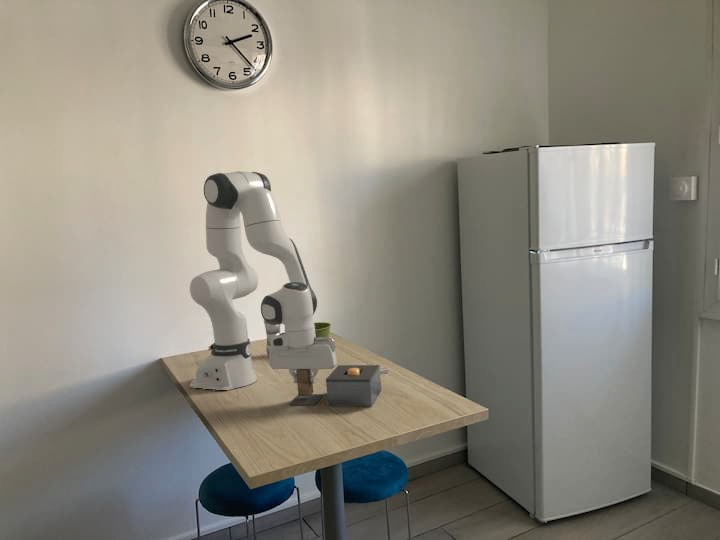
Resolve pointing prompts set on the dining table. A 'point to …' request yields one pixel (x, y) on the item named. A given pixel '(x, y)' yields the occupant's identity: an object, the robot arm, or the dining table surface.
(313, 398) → the pad
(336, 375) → the box
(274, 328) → the silver metal bottle
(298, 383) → the wood grain block
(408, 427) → the dining table surface
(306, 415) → the dining table surface
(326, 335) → the plant pot
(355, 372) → the egg
